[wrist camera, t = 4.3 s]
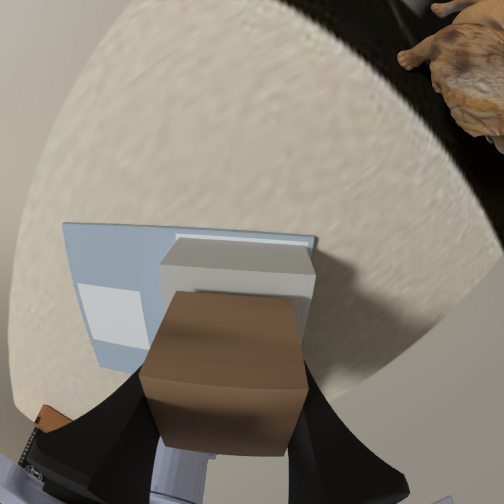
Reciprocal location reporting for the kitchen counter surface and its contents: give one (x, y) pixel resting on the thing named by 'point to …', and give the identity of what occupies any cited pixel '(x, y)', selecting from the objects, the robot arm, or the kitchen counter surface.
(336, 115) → the kitchen counter surface
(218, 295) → the walnut block
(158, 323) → the mat
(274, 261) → the base block
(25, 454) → the whiskey bottle
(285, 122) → the kitchen counter surface
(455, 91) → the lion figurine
